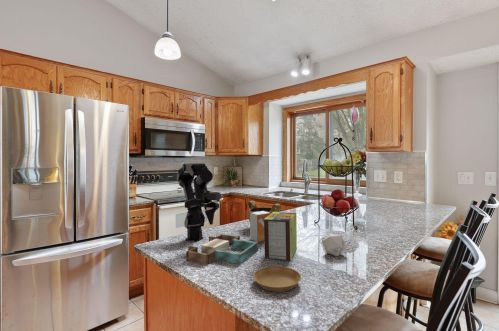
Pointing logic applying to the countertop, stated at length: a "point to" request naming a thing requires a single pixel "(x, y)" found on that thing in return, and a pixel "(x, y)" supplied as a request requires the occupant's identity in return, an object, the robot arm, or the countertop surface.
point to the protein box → (280, 235)
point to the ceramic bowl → (262, 208)
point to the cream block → (215, 246)
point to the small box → (257, 225)
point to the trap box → (224, 255)
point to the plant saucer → (277, 278)
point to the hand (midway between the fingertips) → (205, 224)
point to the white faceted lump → (334, 244)
